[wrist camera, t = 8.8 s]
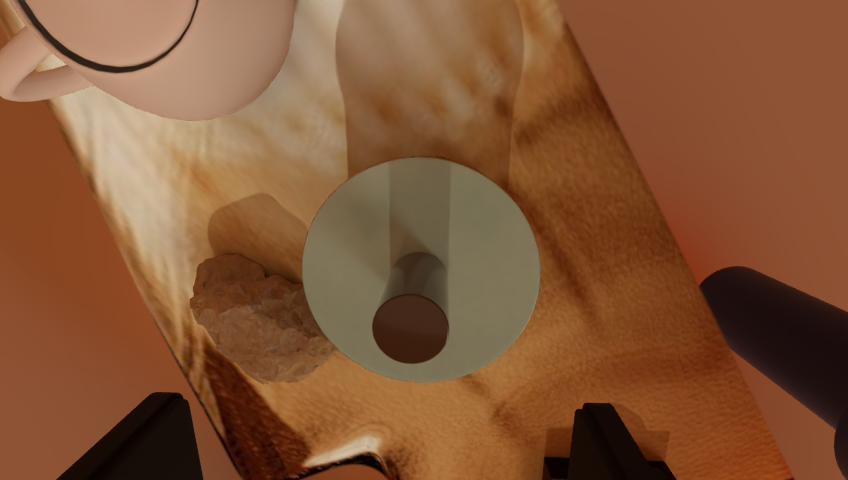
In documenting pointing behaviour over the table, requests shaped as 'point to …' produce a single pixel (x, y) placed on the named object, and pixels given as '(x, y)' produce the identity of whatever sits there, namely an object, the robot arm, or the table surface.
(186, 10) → the teapot
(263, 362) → the stone tool
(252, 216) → the table surface
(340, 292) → the lid
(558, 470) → the button block
